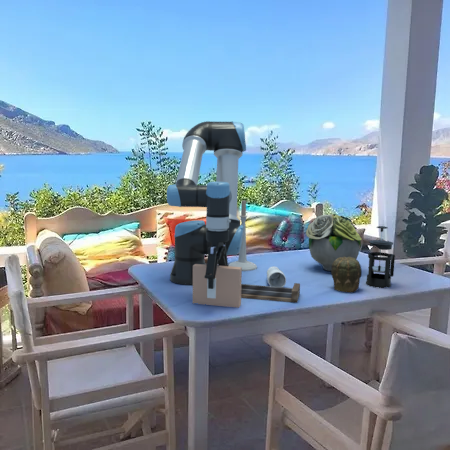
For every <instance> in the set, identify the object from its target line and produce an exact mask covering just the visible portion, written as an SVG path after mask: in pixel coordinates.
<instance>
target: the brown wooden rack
mask: <svg viewBox="0 0 450 450" xmlns="http://www.w3.org/2000/svg"><path fill="white" fill-rule="evenodd" d="M300 292H301V283H299V282H298V283H297V282H295V283H294V284H293V287H285V286H284V287H272V286H270V285H261V284H260V285H258V284H247V283H241V299H250V300H251V299H252V300H262V301H263V300H265V301H272V302H286V303H295V304H298V301H299V297H300V295H301V294H300Z"/></svg>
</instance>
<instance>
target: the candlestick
mask: <svg viewBox="0 0 450 450" xmlns="http://www.w3.org/2000/svg"><path fill="white" fill-rule="evenodd" d="M240 203H241V206H240V207H241V208H240V209H241V210H240V212H241V214H240V215H239V218H240V219H239V220H240V225H242V226H244V230H243V238H242V244H241V249H240V252H239V253H238V259H237V260H235V261H232V262H230V263H228V265H229V266H232V267H242V272H249V271H254V270H257V268H258V266H257V264H255V263H254V262H252V261H248V260H247V235H246V234H247V231H246V221H247V217H248V215H246V213H247V200H241V202H240Z"/></svg>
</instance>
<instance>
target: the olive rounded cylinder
mask: <svg viewBox="0 0 450 450" xmlns="http://www.w3.org/2000/svg"><path fill="white" fill-rule="evenodd" d="M361 267H362V266H361V264H360V261H359V260H358V259H355V258H351V257H347V258H346V257H343V258H342V257H340V258H337V259H336V260H335V261H334V262H333V264H332V269H331V271H330V273H331V278H332V280H333V288H334V291H335V290H336V291H339V292H341V293H342V292H343V293H355V292H356V291H358V289H359V287H360V280H361V277H362V268H361Z"/></svg>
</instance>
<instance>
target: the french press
mask: <svg viewBox="0 0 450 450" xmlns="http://www.w3.org/2000/svg"><path fill="white" fill-rule="evenodd" d="M376 229H380V232H381V234H380V239H372V240H369V241H368V243H369V247H374V246H375V247H377V248H378V249H379V252H377V251H373V252H369V253H368V254H367V255H368V256H367V259H368V268H367V269H368V271H367V273H368V274H366V281H365V284H366V285H367V286H368V285H369V287H371V286H373V288H376V287H379V289H385V288H384V287H388V288H391V286H392V284H391V283H392V282H391V280H392V277H394V274H395V262H396V259H395V258H396V254H394V253H389V252H388V253H387V252H382V250H383V251H385V250H386V251H389V250H392V249H393V245H394V242H393V241H389V240H383V232H384V229H389V228H388V226H383V225H382V226H381V225H380V226H379V225H378V226H376ZM375 261H378V262H379V263H378V265H375ZM381 261H384V262H385V263H384V265H385V266H381ZM380 287H381V288H380Z"/></svg>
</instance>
